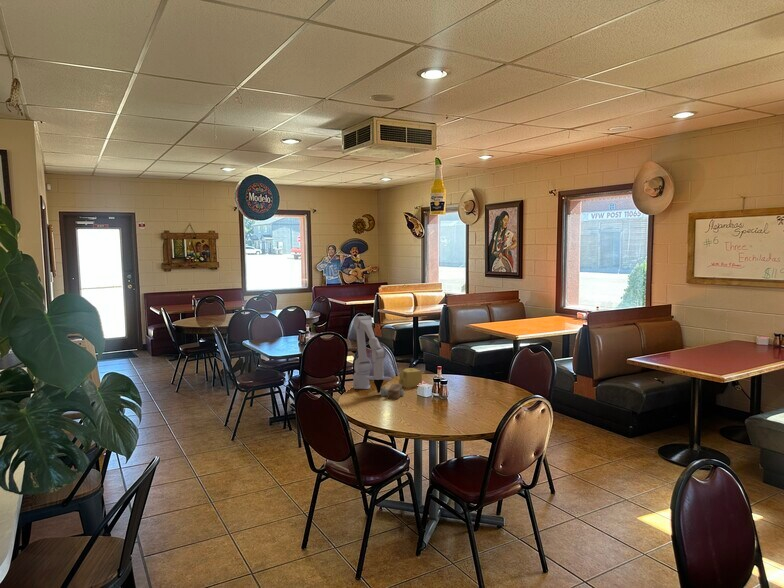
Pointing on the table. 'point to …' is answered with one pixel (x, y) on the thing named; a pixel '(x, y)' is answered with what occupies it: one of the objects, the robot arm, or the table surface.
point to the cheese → (410, 377)
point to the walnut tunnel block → (394, 391)
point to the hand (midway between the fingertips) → (378, 392)
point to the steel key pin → (385, 392)
